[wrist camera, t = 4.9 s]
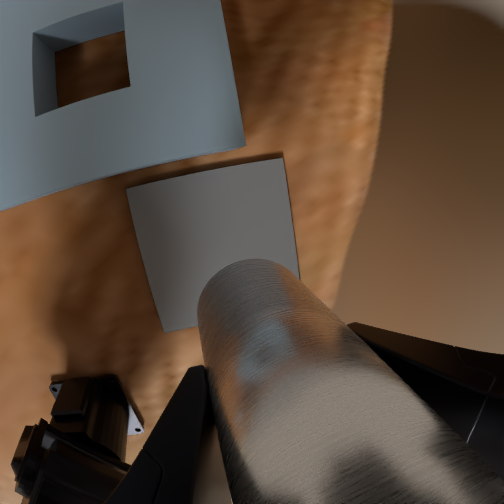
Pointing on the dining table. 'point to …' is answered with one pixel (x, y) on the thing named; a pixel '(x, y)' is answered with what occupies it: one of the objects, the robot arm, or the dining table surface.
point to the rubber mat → (209, 231)
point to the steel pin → (320, 405)
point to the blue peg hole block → (112, 92)
